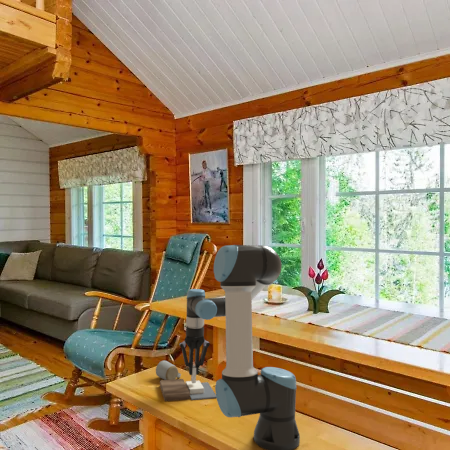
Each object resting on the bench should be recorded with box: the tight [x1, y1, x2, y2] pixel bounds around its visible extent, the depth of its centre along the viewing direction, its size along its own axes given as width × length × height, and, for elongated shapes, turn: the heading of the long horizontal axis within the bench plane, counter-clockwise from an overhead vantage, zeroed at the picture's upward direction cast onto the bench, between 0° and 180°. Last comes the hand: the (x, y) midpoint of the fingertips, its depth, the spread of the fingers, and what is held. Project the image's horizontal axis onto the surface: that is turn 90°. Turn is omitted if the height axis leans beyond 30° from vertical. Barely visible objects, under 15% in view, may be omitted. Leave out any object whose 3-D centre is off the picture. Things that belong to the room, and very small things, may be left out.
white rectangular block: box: [185, 380, 204, 394], centre depth 187 cm, size 9×6×2 cm, turn 16°
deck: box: [159, 378, 191, 402], centre depth 185 cm, size 16×10×2 cm, turn 15°
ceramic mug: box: [155, 360, 182, 380], centre depth 200 cm, size 11×8×8 cm
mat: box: [190, 381, 217, 401], centre depth 186 cm, size 16×10×1 cm, turn 15°
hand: (193, 382), depth 187 cm, fingers closed
